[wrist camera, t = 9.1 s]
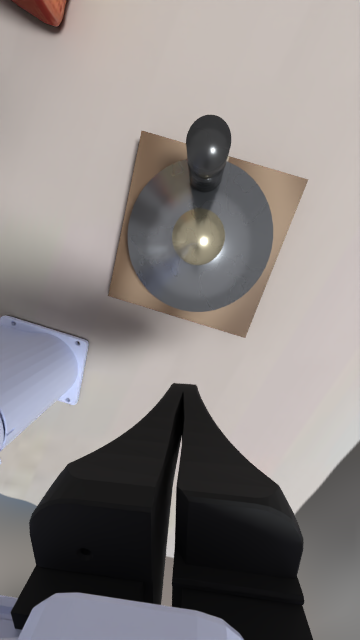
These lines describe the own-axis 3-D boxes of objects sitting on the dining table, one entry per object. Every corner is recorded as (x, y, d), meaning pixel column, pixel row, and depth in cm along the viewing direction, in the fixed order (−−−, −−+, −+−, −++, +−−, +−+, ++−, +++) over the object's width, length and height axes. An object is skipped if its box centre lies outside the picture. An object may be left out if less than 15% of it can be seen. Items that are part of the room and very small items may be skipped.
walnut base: (114, 294, 20) (107, 295, 18) (146, 143, 16) (141, 129, 15) (241, 333, 19) (245, 338, 18) (298, 187, 16) (308, 179, 15)
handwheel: (253, 316, 17) (274, 331, 13) (129, 302, 18) (107, 312, 13) (281, 167, 15) (320, 120, 10) (135, 158, 15) (109, 109, 11)
